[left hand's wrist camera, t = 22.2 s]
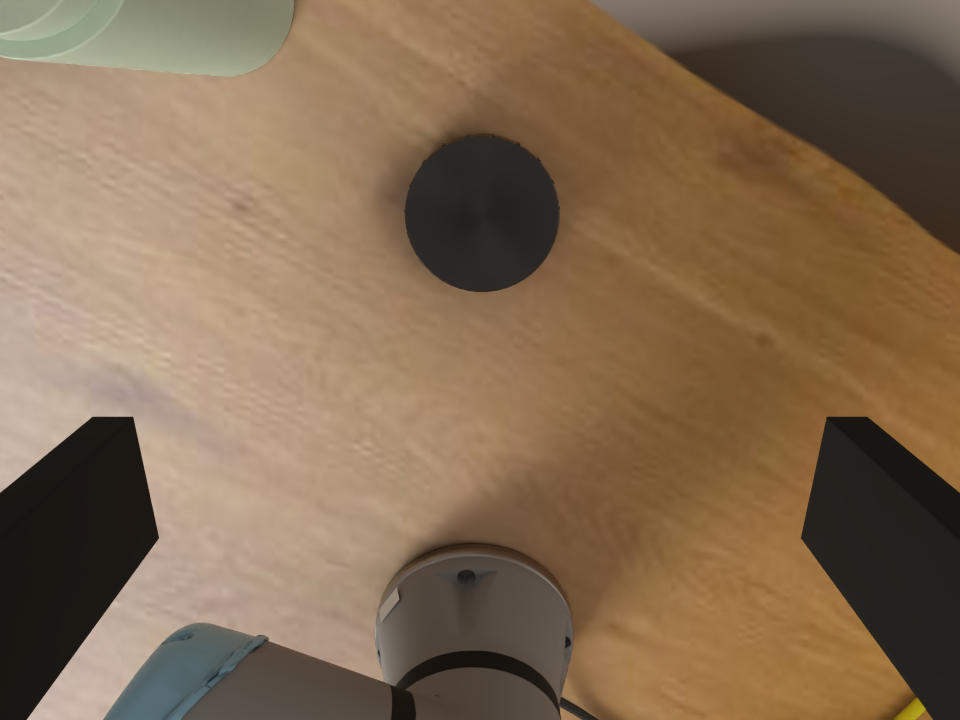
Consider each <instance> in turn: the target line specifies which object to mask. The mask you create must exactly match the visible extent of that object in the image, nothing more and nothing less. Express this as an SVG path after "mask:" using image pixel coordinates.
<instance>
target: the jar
mask: <svg viewBox="0 0 960 720" xmlns="http://www.w3.org/2000/svg"><path fill="white" fill-rule="evenodd" d="M293 13H294V0H0V57H4V58H10V59H15V60H28V61H40V62H52V63H64V64H76V65H88V66H101V67H113V68H125V69H137V70H149V71H161V72H174V73H186V74H198V75H210V76H226V77H229V76H238V75H242V74H246V73H249V72H251V71H254V70H256V69H258V68H259V67H261V66H263V65H264V64H266V63H267V62H268V61H269V60H270V59H271V58H272V57H273V56H274V55H275V54H276V53H277V52H278V51H279V49H280V48H281V46H282V45H283V43H284V41H285V39H286V37H287V35H288V33H289V30H290V26H291V23H292V19H293Z"/></svg>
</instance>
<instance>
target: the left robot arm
mask: <svg viewBox="0 0 960 720" xmlns="http://www.w3.org/2000/svg"><path fill="white" fill-rule="evenodd" d="M158 539H159V536H158V531H157V526H156V522H155V517H154V512H153V508H152V503H151V498H150V493H149V489H148V484H147V479H146V475H145V470H144V465H143V461H142V456H141V451H140V447H139V442H138V437H137V433H136V428H135V423H134V419H133V417H92V418H91V419H89V420H88V421H87V422H86V423H85V424H83V425H82V426H81V427H80V428H79V429H77V430H76V431H75V432H74V433H72V434H71V435H70V436H69V437H68V438H66V439H65V440H64V441H63V442H62V443H60V444H59V445H58V446H57V447H55V448H54V449H53V450H52V451H51V452H49V453H48V454H47V455H46V456H45V457H43V458H42V459H41V460H40V461H38V462H37V463H36V464H35V465H34V466H32V467H31V468H30V469H29V470H28V471H26V472H25V473H24V474H23V475H21V476H20V477H19V478H18V479H17V480H15V481H14V482H13V483H12V484H11V485H9V486H8V487H7V488H6V489H4V490H3V491H2V492H1V493H0V720H27V718H28V717H29V716H30V714H31V713H32V712H33V710H34V709H35V707H36V706H37V705H38V703H39V702H40V701H41V699H42V698H43V696H44V695H45V694H46V692H47V691H48V690H49V688H50V687H51V686H52V684H53V683H54V681H55V680H56V679H57V677H58V676H59V675H60V673H61V672H62V670H63V669H64V668H65V666H66V665H67V664H68V662H69V661H70V659H71V658H72V657H73V655H74V654H75V653H76V651H77V650H78V648H79V647H80V646H81V644H82V643H83V642H84V640H85V639H86V637H87V636H88V635H89V633H90V632H91V631H92V629H93V628H94V627H95V625H96V624H97V622H98V621H99V620H100V618H101V617H102V616H103V614H104V613H105V611H106V610H107V609H108V607H109V606H110V605H111V603H112V602H113V600H114V599H115V598H116V596H117V595H118V594H119V592H120V591H121V589H122V588H123V587H124V585H125V584H126V583H127V581H128V580H129V579H130V577H131V576H132V574H133V573H134V572H135V570H136V569H137V568H138V566H139V565H140V563H141V562H142V561H143V559H144V558H145V557H146V555H147V554H148V552H149V551H150V550H151V548H152V547H153V546H154V544H155V543H156V541H157V540H158ZM801 539H802V540H803V541H804V543H805V544H806V546H807V547H808V548H809V550H810V551H811V552H812V554H813V555H814V557H815V558H816V559H817V561H818V562H819V563H820V565H821V566H822V568H823V569H824V570H825V572H826V573H827V574H828V576H829V577H830V579H831V580H832V581H833V583H834V584H835V585H836V587H837V588H838V589H839V591H840V592H841V594H842V595H843V596H844V598H845V599H846V600H847V602H848V603H849V605H850V606H851V607H852V609H853V610H854V611H855V613H856V614H857V616H858V617H859V618H860V620H861V621H862V622H863V624H864V625H865V627H866V628H867V629H868V631H869V632H870V633H871V635H872V636H873V637H874V639H875V640H876V642H877V643H878V644H879V646H880V647H881V648H882V650H883V651H884V653H885V654H886V655H887V657H888V658H889V659H890V661H891V662H892V664H893V665H894V666H895V668H896V669H897V670H898V672H899V673H900V675H901V676H902V677H903V679H904V680H905V681H906V683H907V684H908V686H909V687H910V688H911V690H912V691H913V692H914V694H915V695H916V696H917V698H918V699H919V701H920V702H921V703H922V705H923V706H924V707H925V709H926V710H927V712H928V713H929V714H930V716H931V717H932V718H933V720H960V493H959V492H958V491H957V490H956V489H954V488H953V487H952V486H951V485H949V484H948V483H947V482H946V481H945V480H943V479H942V478H941V477H940V476H939V475H937V474H936V473H935V472H934V471H932V470H931V469H930V468H929V467H928V466H926V465H925V464H924V463H923V462H922V461H920V460H919V459H918V458H917V457H915V456H914V455H913V454H912V453H911V452H909V451H908V450H907V449H906V448H905V447H903V446H902V445H901V444H900V443H898V442H897V441H896V440H895V439H894V438H892V437H891V436H890V435H889V434H888V433H886V432H885V431H884V430H883V429H881V428H880V427H879V426H878V425H877V424H875V423H874V422H873V421H872V420H871V419H869V418H868V417H827V419H826V423H825V428H824V433H823V437H822V442H821V447H820V451H819V456H818V461H817V465H816V470H815V475H814V479H813V484H812V489H811V493H810V498H809V503H808V508H807V512H806V517H805V522H804V526H803V531H802V536H801ZM268 640H269V638H268V637H266V636H264V635H258V636H256V637H254V636H251V635H248V634H244V633H241V632H237V631H234V630H230V629H227V628H224V627H220V626H217V625H213V624H209V623H195V624H191V625H188V626H185V627H183V628H181V629H179V630H177V631H176V632H174V633H173V634H172V635H170V636H169V637H168V638H167V639H166V640H165V641H164V642H163V643H162V644H161V645H160V646H159V647H158V648H157V649H156V650H155V651H154V652H153V654H152V655H151V656H150V657H149V658H148V660H147V661H146V662H145V663H144V664H143V666H142V667H141V668H140V670H139V671H138V672H137V673H136V675H135V676H134V677H133V679H132V680H131V681H130V683H129V684H128V685H127V687H126V688H125V690H124V691H123V692H122V694H121V695H120V696H119V698H118V699H117V701H116V702H115V703H114V705H113V706H112V708H111V709H110V710H109V712H108V713H107V715H106V716H105V718H104V719H103V720H561V716H560V708H559V706H560V707H562V708H563V709H565V710H567V711H569V712H570V713H572V714H574V715H576V716H577V717H579V718H580V719H582V720H598V719H597V718H595V717H594V716H592V715H590V714H589V713H587V712H586V711H584V710H583V709H581V708H580V707H578V706H576V705H575V704H573V703H571V702H569V701H568V700H566V699H564V698H562V697H561V695H562V691H563V687H564V683H565V678H566V674H567V670H568V665H569V662H570V658H571V653H572V648H573V622H572V617H571V611H570V607H569V602H568V600H567V597H566V595H565V593H564V591H563V589H562V587H561V586H560V584H559V583H558V581H557V580H556V579H555V578H554V576H553V575H552V574H551V573H550V572H549V571H548V570H547V569H545V568H544V567H543V566H542V565H540V564H539V563H537V562H536V561H534V560H533V559H531V558H529V557H527V556H525V555H523V554H521V553H519V552H516V551H513V550H510V549H507V548H503V547H499V546H493V545H486V544H463V545H455V546H449V547H445V548H441V549H438V550H435V551H432V552H430V553H427V554H425V555H423V556H421V557H419V558H417V559H416V560H414V561H412V562H411V563H409V564H408V565H407V566H405V567H404V568H403V569H402V570H401V571H400V572H399V573H398V574H397V575H396V576H395V577H394V578H393V579H392V581H391V582H390V583H389V585H388V586H387V588H386V590H385V592H384V594H383V596H382V599H381V601H380V605H379V609H378V614H377V619H376V626H375V643H376V651H377V656H378V659H379V663H380V666H381V668H382V671H383V677H384V682H382V681H379V680H376V679H374V678H371V677H368V676H365V675H362V674H359V673H357V672H354V671H351V670H348V669H345V668H342V667H340V666H337V665H334V664H331V663H328V662H326V661H323V660H320V659H317V658H314V657H311V656H309V655H306V654H303V653H300V652H297V651H295V650H292V649H289V648H286V647H283V646H280V645H278V644H275V643H272V642H269V641H268Z"/></svg>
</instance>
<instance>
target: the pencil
mask: <svg viewBox="0 0 960 720" xmlns="http://www.w3.org/2000/svg"><path fill="white" fill-rule="evenodd" d="M925 710H926V709H925V707H924V706H923V705H922V703H921V702H920V701H919V699H918V698H917V697H916V698H915V699H914V700H913V701H912V702H911V703H910V704H909V705H908V706H907V707H906V708H905V709H904V710H903V711H902V712H901V713H900V714H899V715H898V716H896V717H895V718H894V719H893V720H916V719H917V718H918V717H919V716H920V715H921V714H922V713H923V712H924V711H925Z"/></svg>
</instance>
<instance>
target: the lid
mask: <svg viewBox="0 0 960 720" xmlns="http://www.w3.org/2000/svg"><path fill="white" fill-rule="evenodd" d="M422 164H423V165H422V166H421V167H420V169H419V170H418V172H417V173H416V175H415V177H414V179H413V181H412V182H411V184H410V185H409V186H410V188H409V191H408V195H407V200H406V207H405V210H404V212H405V222H406V228H407V233H408V237H409V240H410V243H411V245H412V247H413V249H414V251H415V253H416V255H417V256H418V258H419V259H420V261H421V262H422V263H423V264H424V266H425V267H426V268H427V269H428V270H429V271H430V272H431V273H432V274H433V275H435V276H436V277H438V278H439V279H440V280H442V281H444V282H446V283H447V284H449V285H452V286H454V287H457V288H459V289H463V290H467V291H475V292H490V291H497V290H501V289H505V288H508V287H510V286H513V285H515V284H517V283H519V282H521V281H522V280H524V279H525V278H527V277H528V276H529V275H531V274H532V273H533V272H534V271H535V270H536V269H537V268H538V267H539V266H540V265H541V264H542V262H543V261H544V260H545V259H546V257H547V255H548V254H549V252H550V250H551V248H552V246H553V244H554V241H555V238H556V235H557V231H558V225H559V209H560V207H559V201H558V197H557V193H556V189H555V187H554V182H553V180H552V179H551V178H550V176H549V174H548V172H547V171H546V169H545V168H544V167H543V165H542V164H541V163H540V159H539V158H537V159H536V157H535V156H534V155H533V154H532V153H530V152H529V151H528V150H527V149H525V148H524V147H523V146H521V145H520V143H519V142H517V143H516V142H514V141H511V140H509V139H507V138H503V137H499V136H495V134H493V135H487V134H479V135H470V136H469V134H467V136H465V137H461V138H458V139H455V140H453V141H451V142H449V143H447V144H445V143H444V144H443V145H442V147H440V148H439V149H438V150H437V151H435V152H434V153H433V154H432V155H431V156H430V157H429V158H428V159H427V160H424V161H423V162H422Z"/></svg>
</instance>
